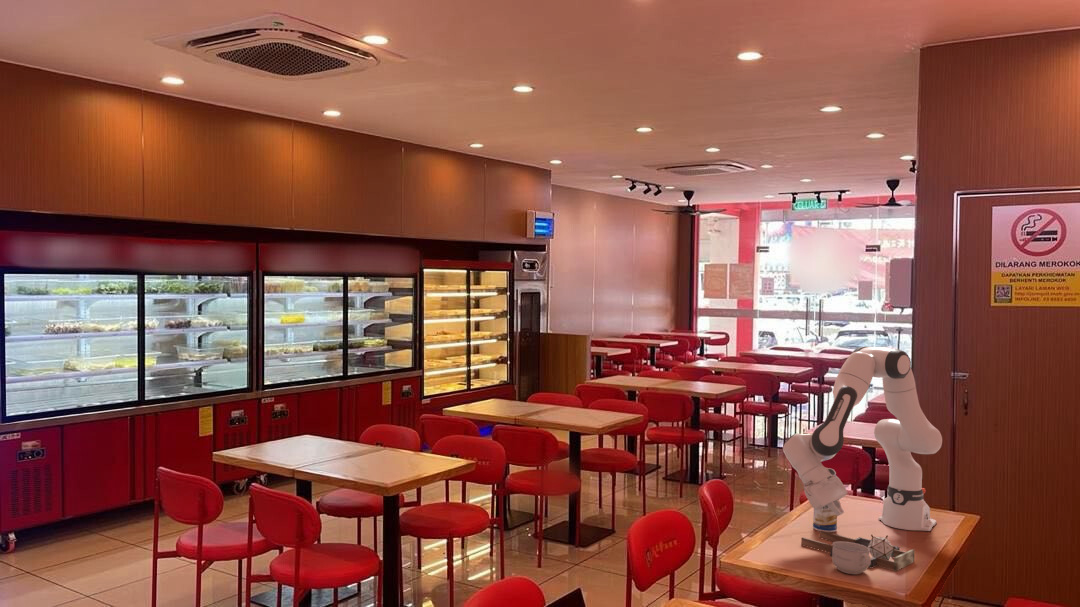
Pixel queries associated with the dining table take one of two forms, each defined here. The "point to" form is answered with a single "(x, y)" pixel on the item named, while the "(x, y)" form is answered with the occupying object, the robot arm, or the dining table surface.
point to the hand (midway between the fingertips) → (840, 514)
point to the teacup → (850, 557)
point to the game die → (880, 547)
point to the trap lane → (900, 557)
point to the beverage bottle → (825, 519)
